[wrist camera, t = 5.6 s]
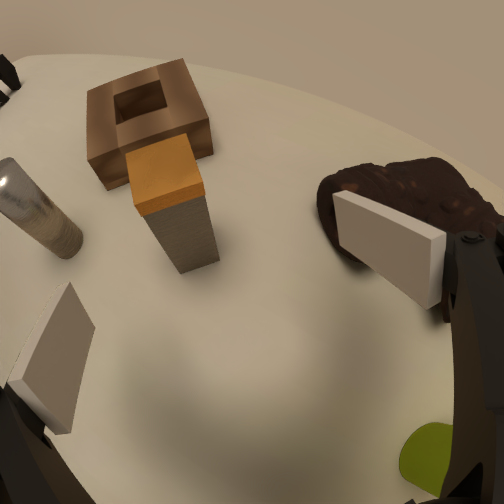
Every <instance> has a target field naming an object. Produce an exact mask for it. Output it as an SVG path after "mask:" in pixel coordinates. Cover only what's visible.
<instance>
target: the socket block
mask: <svg viewBox="0 0 504 504" xmlns="http://www.w3.org/2000/svg"><path fill="white" fill-rule="evenodd" d="M184 133H186V134H187V137H188V140H189V143H190V146H191V149H192V152H193V155H194V158H195V160H196V159H199V158H202V157H205V156H209V155H212V154H214V153H213V146H212V139H211V131H210V124H209V117H208V115H207V113H206V110H205V108H204V106H203V103H202V101H201V99H200V97H199V94H198V92H197V90H196V87H195V85H194V83H193V81H192V78H191V76H190V74H189V71H188V69H187V67H186V65H185V62H184V60H183V58H182V59H178V60H174V61H171V62H167V63H164V64H160V65H157V66H154V67H151V68H147V69H144V70H141V71H138V72H135V73H133V74H130V75H127V76H124V77H121V78H119V79H116V80H113V81H111V82H108V83H106V84H103V85H101V86H98V87H96V88H93V89H91V90H89V91H87V161H88V162H89V164H90V165H91V167H92V168H93V170H94V171H95V173H96V174H97V176H98V177H99V179H100V180H101V182H102V183H103V185H104V186H105V188H106V189H107V191H108V190H111V189H113V188H116V187H118V186H121V185H124V184H126V183H129V182H130V180H129V174H128V168H127V162H126V156H125V154H126V153H129V152H132V151H134V150H137V149H140V148H142V147H145V146H148V145H151V144H154V143H157V142H160V141H163V140H166V139H169V138H172V137H175V136H178V135H181V134H184Z"/></svg>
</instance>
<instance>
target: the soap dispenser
mask: <svg viewBox="0 0 504 504" xmlns="http://www.w3.org/2000/svg"><path fill="white" fill-rule="evenodd" d="M452 434H453V425H448V424H443V423H429V424H427V425H424V426H422V427H421V428H419V429H418V430H417V431H415V432H414V433H413V434H412V435H411V436H410V438H409V439H408V440H407V442H406V443H405V445H404V447H403V449H402V452H401V455H400V459H399V468H400V472H401V474H402V476H403V477H404V478H405V479H406V480H408V481H409V482H411V483H413V484H414V485H416V486H418V487H420V488H421V489H423V490H425V491H427V492H429V493H430V494H432V495H434V496H436V497H438V498H439V497H440V493H441V488H442V485H443V481H444V478H445V476H446V473H447V471H448V467H449V463H450V456H451V446H452Z"/></svg>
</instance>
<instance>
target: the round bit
mask: <svg viewBox="0 0 504 504" xmlns="http://www.w3.org/2000/svg"><path fill="white" fill-rule="evenodd" d="M0 212H1V213H2V214H4V215H5V216H6V217H7V218H8V219H10V220H11V221H12V222H13V223H15V224H16V225H17V226H18V227H20V228H21V229H22V230H23V231H25V232H26V233H27V234H29V235H30V236H31V237H33V238H34V239H35V240H37V241H38V242H39V243H41V244H42V245H43V246H45V247H46V248H47V249H49V250H50V251H51V252H53V253H54V254H56V255H57V256H58V257H60V258H62V259H68V258H71V257H73V256H74V255H75V254H76V253H77V252H78V251H79V249H80V248H81V245H82V242H83V234H82V231H81V230H80V229H79V228H78V227H77V226H76V225H75V224H74V223H73V222H72V221H71V220H70V219H69V218H68V217H67V216H66V215H65V214H64V213H63V212H62V211H61V210H60V209H59V208H58V207H57V206H56V205H55V204H54V202H53V201H52V200H51V199H50V198H49V197H48V196H47V195H46V194H45V193H44V192H43V191H42V190H41V189H40V188H39V187H38V186H37V185H36V183H35V182H34V181H33V180H32V179H31V178H30V177H29V176H28V175H27V174H26V172H25V171H24V170H23V169H22V168H21V167H20V166H19V165H18V163H17V162H16V161H15V160H14V159H13V158H10V157H9V158H5V159H3V160H1V161H0Z"/></svg>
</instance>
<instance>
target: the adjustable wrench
mask: <svg viewBox="0 0 504 504" xmlns="http://www.w3.org/2000/svg"><path fill="white" fill-rule="evenodd" d="M0 79H1V80H2V81H3V82H4V83H5V84H6V85H7V86H8V87H9V88H10V89H11V90H19V89H20V88H21V84H20V81H19V78H18V75H17V72H16V69H15V67H14V66H13V65H12V64H11V63H10V62H9V61H8V60H7V59H6V57H4V55H3V54H1V55H0ZM9 99H10V98H9V97H8V96H6V95H5V94H4V93H3V92H2V91H1V90H0V102H6V103H7V101H8V100H9Z"/></svg>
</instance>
